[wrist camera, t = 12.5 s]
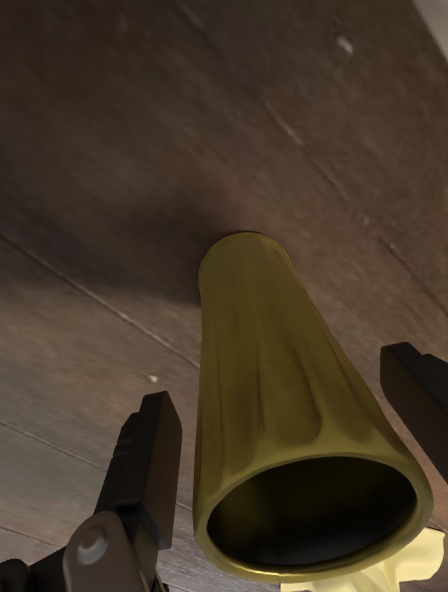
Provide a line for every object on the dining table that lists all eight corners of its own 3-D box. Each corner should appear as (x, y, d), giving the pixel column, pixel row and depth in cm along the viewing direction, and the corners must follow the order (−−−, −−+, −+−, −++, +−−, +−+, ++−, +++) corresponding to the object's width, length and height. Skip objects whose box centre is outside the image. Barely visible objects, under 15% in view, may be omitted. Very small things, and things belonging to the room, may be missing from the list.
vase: (190, 308, 20) (153, 586, 7) (209, 220, 17) (204, 409, 5) (274, 324, 21) (376, 599, 8) (304, 243, 18) (525, 454, 5)
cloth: (362, 490, 30) (396, 565, 25) (473, 533, 35) (522, 604, 30) (244, 581, 38) (250, 653, 33) (349, 605, 43) (369, 672, 38)
